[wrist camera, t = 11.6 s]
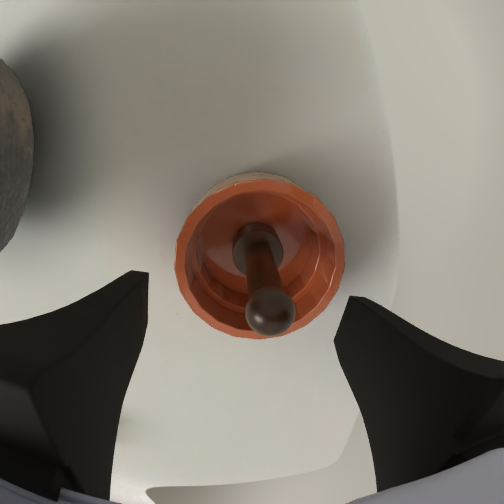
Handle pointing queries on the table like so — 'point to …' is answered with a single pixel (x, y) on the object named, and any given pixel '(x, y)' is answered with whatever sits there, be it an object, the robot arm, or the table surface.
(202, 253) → the mixing bowl
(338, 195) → the table surface
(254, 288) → the dark brown pestle
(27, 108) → the grey flower pot
